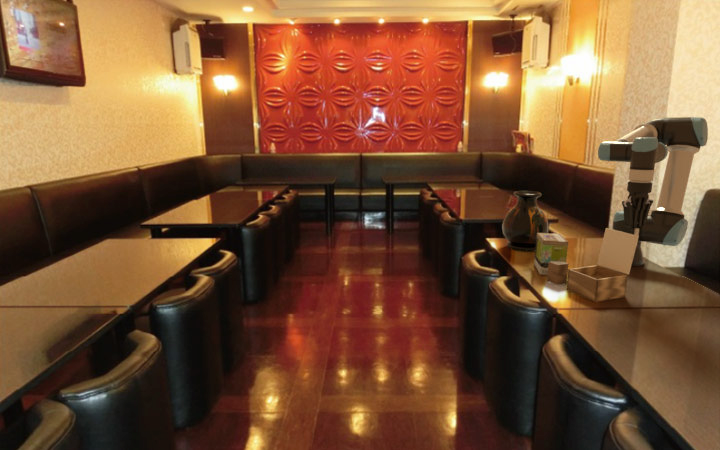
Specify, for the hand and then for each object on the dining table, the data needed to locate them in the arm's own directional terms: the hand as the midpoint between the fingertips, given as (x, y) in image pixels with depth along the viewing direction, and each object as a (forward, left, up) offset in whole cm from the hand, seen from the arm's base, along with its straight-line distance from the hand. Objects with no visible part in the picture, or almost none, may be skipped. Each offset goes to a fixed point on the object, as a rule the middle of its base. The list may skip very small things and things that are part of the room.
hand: (632, 245), depth 167 cm
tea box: (+12, -28, -17) cm, 34 cm away
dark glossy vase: (-3, -61, -17) cm, 63 cm away
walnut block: (+20, -15, -17) cm, 29 cm away
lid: (+8, 0, -1) cm, 8 cm away
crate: (+16, 0, -17) cm, 23 cm away
